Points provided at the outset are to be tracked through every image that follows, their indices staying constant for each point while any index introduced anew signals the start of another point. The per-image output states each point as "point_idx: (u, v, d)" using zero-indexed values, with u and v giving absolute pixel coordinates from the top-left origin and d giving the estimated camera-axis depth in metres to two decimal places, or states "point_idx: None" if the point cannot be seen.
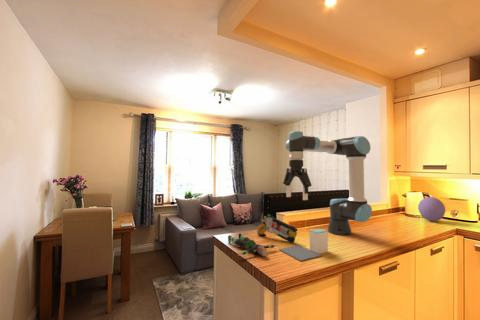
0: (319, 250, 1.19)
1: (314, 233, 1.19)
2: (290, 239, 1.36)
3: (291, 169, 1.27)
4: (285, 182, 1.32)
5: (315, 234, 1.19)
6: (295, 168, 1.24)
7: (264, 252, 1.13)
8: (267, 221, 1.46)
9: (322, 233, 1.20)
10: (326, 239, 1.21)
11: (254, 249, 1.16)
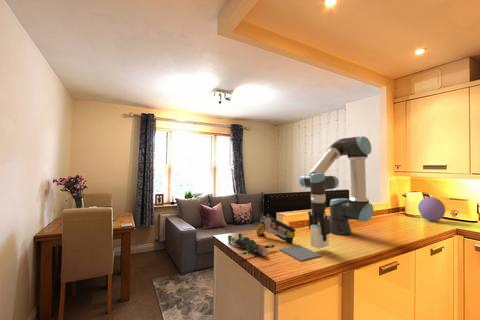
0: (320, 244, 1.19)
1: (315, 228, 1.20)
2: (288, 240, 1.35)
3: (313, 211, 1.25)
4: None
5: (316, 229, 1.19)
6: (317, 211, 1.22)
7: (264, 252, 1.13)
8: (266, 221, 1.46)
9: None
10: None
11: (254, 249, 1.16)
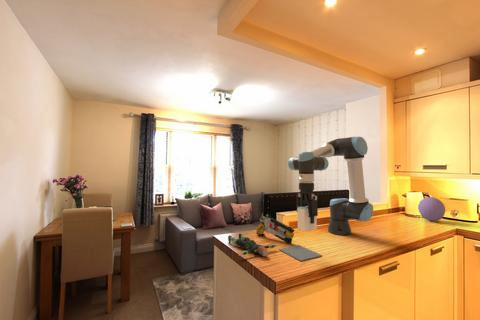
0: (307, 227, 1.12)
1: (302, 209, 1.12)
2: (287, 240, 1.34)
3: (300, 192, 1.17)
4: None
5: (303, 210, 1.12)
6: (305, 192, 1.14)
7: (265, 252, 1.13)
8: (265, 221, 1.46)
9: None
10: (315, 216, 1.14)
11: (255, 249, 1.16)
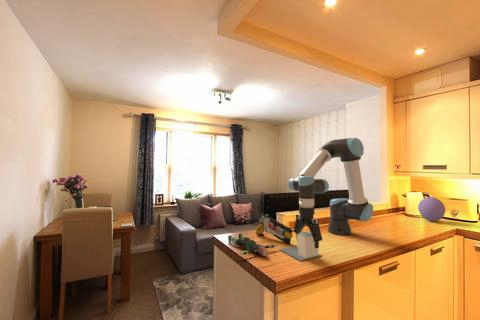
0: (308, 254, 1.11)
1: (302, 236, 1.12)
2: (286, 240, 1.34)
3: (301, 216, 1.17)
4: (295, 230, 1.21)
5: (303, 237, 1.11)
6: (305, 216, 1.14)
7: (265, 252, 1.13)
8: (265, 221, 1.46)
9: (311, 236, 1.13)
10: None
11: (255, 249, 1.16)
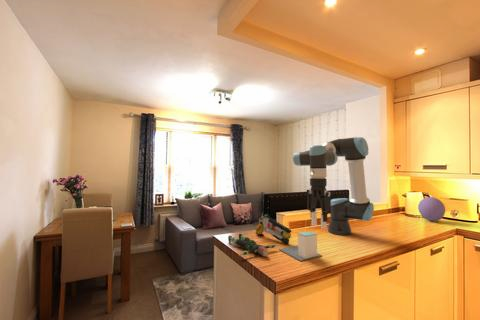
0: (308, 254, 1.11)
1: (302, 236, 1.12)
2: (284, 240, 1.33)
3: (312, 188, 1.10)
4: (310, 208, 1.12)
5: (303, 237, 1.11)
6: (317, 188, 1.07)
7: (265, 252, 1.13)
8: (264, 221, 1.46)
9: (311, 236, 1.13)
10: (315, 242, 1.14)
11: (255, 249, 1.16)
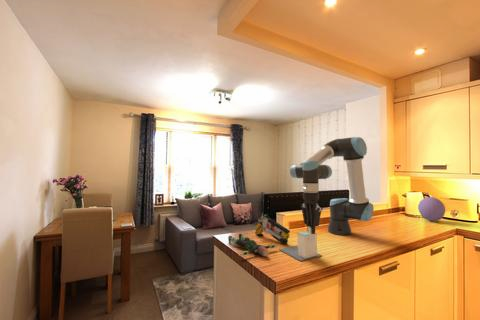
0: (308, 254, 1.11)
1: (302, 236, 1.12)
2: (282, 241, 1.33)
3: (304, 201, 1.15)
4: (306, 222, 1.14)
5: (303, 237, 1.12)
6: (310, 201, 1.11)
7: (265, 252, 1.13)
8: (263, 221, 1.46)
9: None
10: (315, 242, 1.14)
11: (255, 249, 1.16)
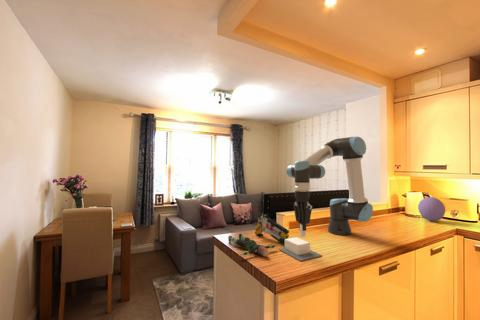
0: (299, 243, 1.17)
1: (285, 242, 1.24)
2: (282, 241, 1.33)
3: (296, 200, 1.20)
4: None
5: (285, 241, 1.24)
6: (301, 200, 1.17)
7: (265, 252, 1.13)
8: (263, 221, 1.46)
9: (291, 238, 1.26)
10: (299, 239, 1.24)
11: (255, 249, 1.16)
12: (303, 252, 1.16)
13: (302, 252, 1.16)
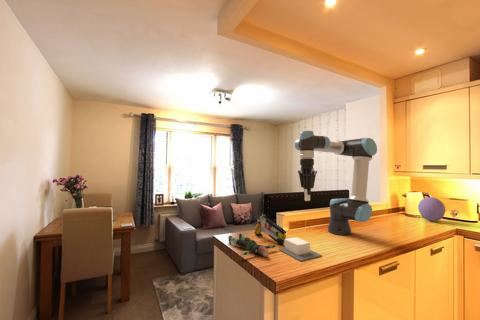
0: (299, 243, 1.17)
1: (285, 242, 1.24)
2: (279, 241, 1.32)
3: (301, 167, 1.30)
4: None
5: (285, 241, 1.24)
6: (306, 167, 1.27)
7: (265, 252, 1.12)
8: (262, 221, 1.46)
9: (291, 238, 1.26)
10: (299, 239, 1.24)
11: (255, 249, 1.16)
12: (303, 252, 1.16)
13: (302, 252, 1.16)
